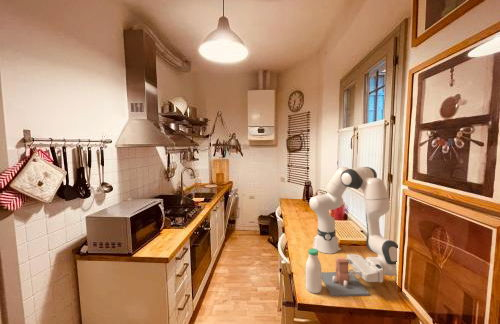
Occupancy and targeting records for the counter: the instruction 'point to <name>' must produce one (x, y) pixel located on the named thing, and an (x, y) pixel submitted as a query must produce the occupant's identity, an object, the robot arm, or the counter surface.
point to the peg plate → (343, 290)
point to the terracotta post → (341, 270)
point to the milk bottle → (313, 272)
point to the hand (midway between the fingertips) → (345, 266)
